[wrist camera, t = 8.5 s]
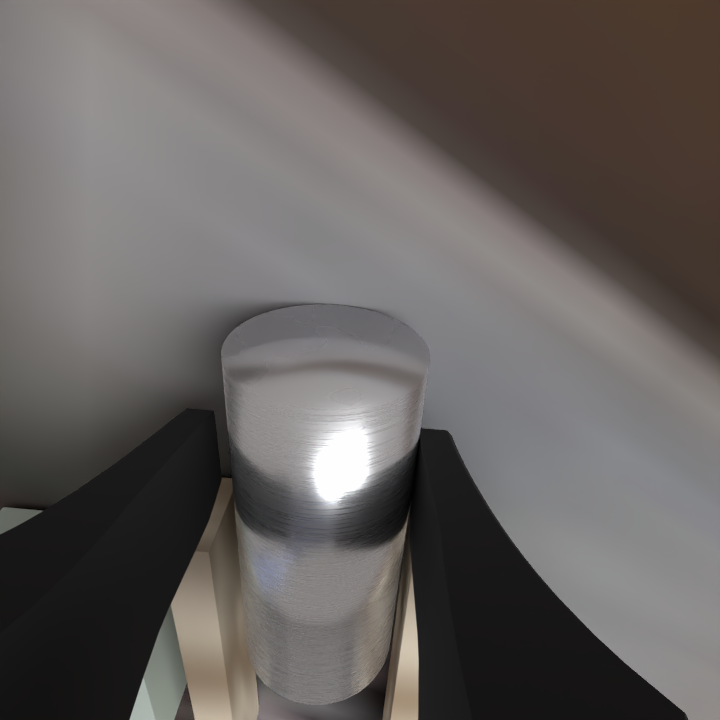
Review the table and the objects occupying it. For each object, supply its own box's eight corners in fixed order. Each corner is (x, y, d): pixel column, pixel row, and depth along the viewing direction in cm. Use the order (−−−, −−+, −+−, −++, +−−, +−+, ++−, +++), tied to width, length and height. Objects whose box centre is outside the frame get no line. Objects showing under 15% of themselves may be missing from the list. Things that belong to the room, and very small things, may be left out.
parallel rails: (413, 726, 21) (413, 805, 18) (228, 706, 21) (208, 781, 19) (455, 498, 15) (463, 577, 12) (194, 475, 15) (158, 547, 13)
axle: (383, 567, 17) (399, 701, 13) (254, 569, 17) (237, 708, 13) (413, 306, 12) (450, 408, 9) (236, 302, 12) (202, 407, 9)
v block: (190, 673, 20) (163, 749, 18) (65, 660, 20) (23, 733, 18) (159, 521, 16) (120, 596, 14) (3, 507, 16) (-59, 577, 14)
